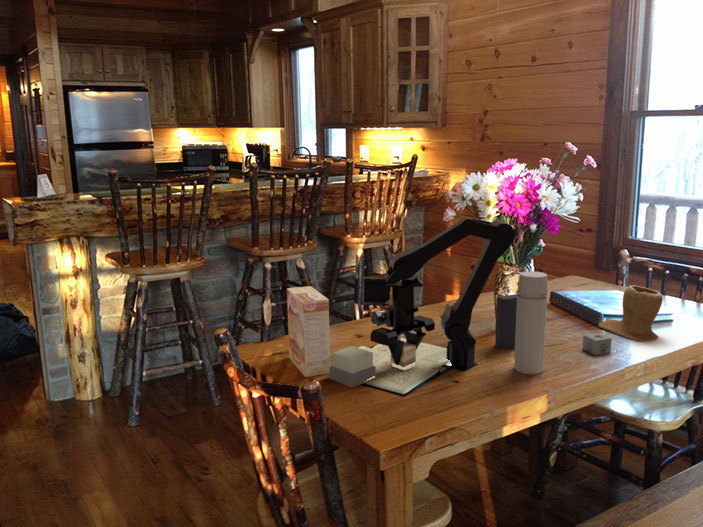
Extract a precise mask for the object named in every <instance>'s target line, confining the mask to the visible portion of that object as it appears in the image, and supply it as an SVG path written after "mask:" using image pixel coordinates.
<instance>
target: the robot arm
mask: <svg viewBox="0 0 703 527" xmlns="http://www.w3.org/2000/svg"><path fill="white" fill-rule="evenodd" d="M469 236H472V237H473V236H474V237H477V238H481V239H483V240H482V245H481V246H482V247H481V252H480V254H479V256H478V258H477V259H476V261H475V264H474V266H473V269H472V270H471V273H470V274H469V276H468V278H467V279H466V280H467V281H466V283H465V284H464V286H463V289H462V290H461V292H460V294H459V297H458V299H457V300H456V302H454V303H453V304H452V305H450V304H448V303H446V305H445V307H444V310H443V312H442V314H441V315H440V316H439V318H440V319H441V321H440V327H441V330H442V332H443V333H444V335H445V337H446V338H447V339H448V340H449V341H447V346H446V359H448V360H450V362H451V364H452V366H450V367H449V368H451V369H453V370H457V371H460V372H466V371H468V370H470V369H473V368H475V367H477V366H478V365H479V363H478V362H475V357H476V356H475V355H476V354H475V353H476V344H477V339H476V338H475V337H474V335H473V333H472V332H471V330H470V329H469V328H470V325H471V321H472V316H473V315H472V313H473V310H474V307H475V305H476V303H477V301H478V299H479V297H480V295H481V293H482V291H483V290H484V287H485V285H486V284H487V282H488V280H489V278H490V275H491V274H492V271H493V270H494V267H495V266H496V264H497V262H498V260H499V259H500V258H501V257H502V256H503V255H504V254H505V253H507V251H508V250H509V249H510V247H511V246H512V244H513V243H514V241H515V239H516V237H517V233H516V231H515V228H514V227H513V226H512V225H511V224H510V223H508V222H505V221H504V220H501V219H497V220H496V219H494V220H493V221H487V220H481V219H476V218H472V217H470V216H464V217H461V218H460V219H459V220H458V221H457V222H455V223H454V224H451V226H449V227H447V228H445V229H444V230H442V231H441V232H439V233H438V234H436V235H435V236H433V237H432V238H430V239H428V240H426V241H425V242H423V243H422V244H419V245H417V246H413V247H410V248H407V249H404V250H403V251H402V250H401V251H400V252H398V253H396V254H395V255H393V256H392V259H391V262H390V263H391V265H390V267H389V268H388V269H387V271H386V272H385V273H384V274H383V277H371V276H363V285H362V305H384V304H385V305H386V303H388V301H389V300H391V306H388V308H387V311H383V312H381V310H375V311H372V312H371V313H370V320H371V323H372V324H373V325H376V327H378V328H376V329H373V330H371V332H370V342H373V343H376V344H379V345H382V346H386V347H388V350H389V352H390V356H391V355H392V357H393V360H394V363H395V364H396V365H399V363H400V359H401V355H402V350H403V346H404V342H406V343H409V344H413V345H416V351H417V350H418V348H419V346H420V344H421V342H422V341H423V339H424V337H425V336H427V332H431V331H435V330H436V322H435V321H434V320H433V318H430V317H426V316H424V315H423V316H422V315H417V316H416V312H417V313H418V312H419V306H416V304H415V303H416V287H417V288H419V287H423V286H424V284H423V282H422V281H421V279H419V277H418V276H417V275H416V274H417V273H419V271H420V270H422V269H423V268H424V267H425V266H426V264H427V263H428V262H429V261H430V260H431V259H433V258H434V257H436V256H438V255H439V254H441V253H442V252H444V251H445V250H447V249H449V248H451V247H452V246H454V245H456V244H457V243H459V242H460V241H462V240H463V239H465V238H467V237H469ZM385 325H386V327H387V328H386V327H384V326H385ZM380 326H383V327H380ZM389 328H392V329H389ZM422 328H424V330H425V331H426V332H424V331H423V329H422ZM401 335H404V338H405V341H404V340H401Z"/></svg>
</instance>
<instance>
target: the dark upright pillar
mask: <svg viewBox="0 0 703 527" xmlns="http://www.w3.org/2000/svg"><path fill="white" fill-rule="evenodd" d="M517 295H518V294H517V293H516V294H508V295H507V294H506V295H499V296H497V297H496V309H495V313H496V314H495V335H494V336H495V340H494V342H495V343H494V347H496V348H498V349H499V350H505V349H512V348H515V332H516V308H517Z"/></svg>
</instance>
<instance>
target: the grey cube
mask: <svg viewBox="0 0 703 527" xmlns="http://www.w3.org/2000/svg"><path fill="white" fill-rule="evenodd" d="M611 349H612V338H611V337H610V336H607V335H605V334H602V333H600V332H596V333H589V334H583V336H582V350H583V351H585V352H587V353H589V354H592V355H594V356H598V355H603V354H604V355H605V354H609V353H611V351H612V350H611Z"/></svg>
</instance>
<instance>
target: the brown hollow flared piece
mask: <svg viewBox="0 0 703 527" xmlns="http://www.w3.org/2000/svg"><path fill="white" fill-rule="evenodd" d="M622 296H623V297H622V319H621V320H619V319H608V320H604V321H601V322H600V323H599V325H598V327H599V328H600V329H603V330H605V331H607V332H610V333H612V334H615V335H618V336H620V337H622V338H625V339H629V340H631V341H635V342H641V343H642V342H652V341H654V340H657V339H658V338H659V336H658V334H656V333H655V332H654V331H653V330H652V327H653V323H654V321H655V319H656V318H657V316H658V314H659V312H660V309H661V307H662V304H663V300H664V298H663V294H662V293H661V292H660V291H658V290H655V289H652V288H649V287H644V286H639V285H628V286H627V287H626V288H625V289H624V291H623V295H622Z"/></svg>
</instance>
